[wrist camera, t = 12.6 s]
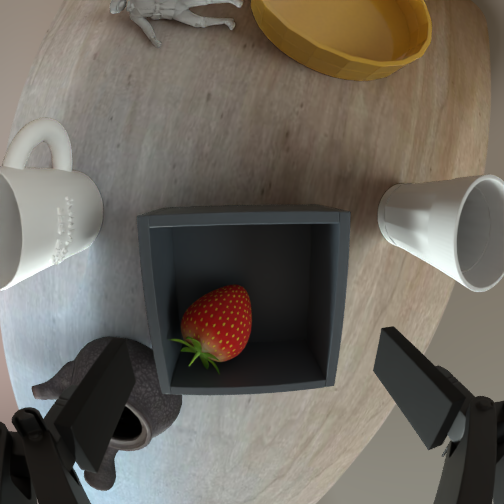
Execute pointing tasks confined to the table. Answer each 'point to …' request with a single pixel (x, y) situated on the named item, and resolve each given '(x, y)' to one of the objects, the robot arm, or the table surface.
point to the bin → (258, 288)
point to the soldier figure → (170, 13)
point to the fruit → (217, 325)
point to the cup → (450, 226)
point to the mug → (43, 205)
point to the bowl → (347, 34)
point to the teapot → (135, 411)
